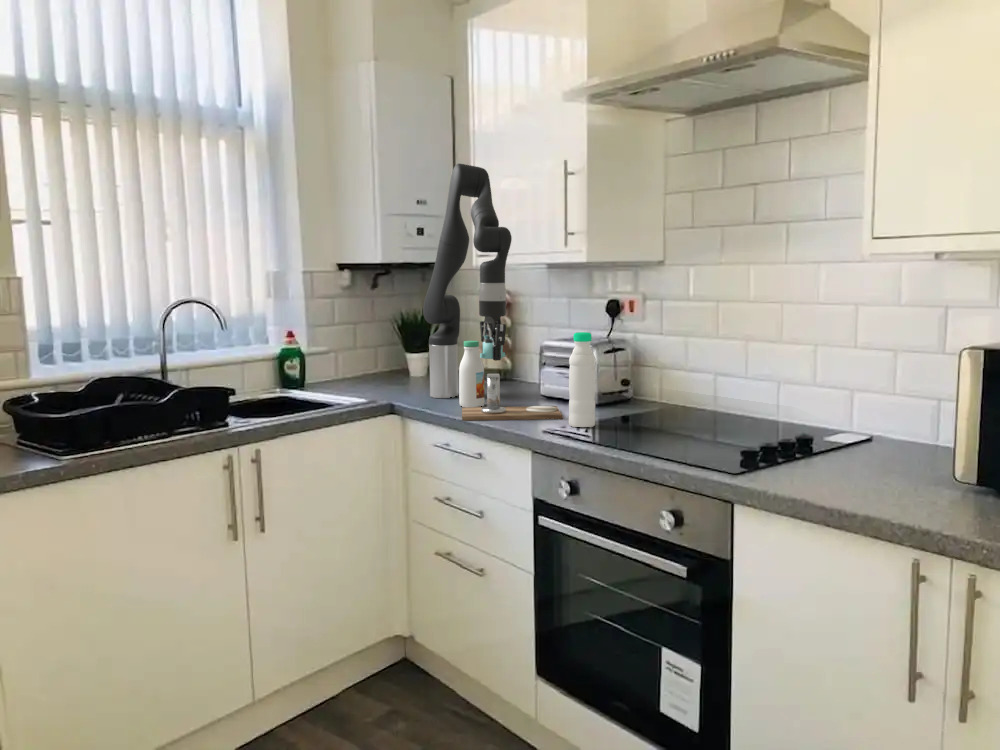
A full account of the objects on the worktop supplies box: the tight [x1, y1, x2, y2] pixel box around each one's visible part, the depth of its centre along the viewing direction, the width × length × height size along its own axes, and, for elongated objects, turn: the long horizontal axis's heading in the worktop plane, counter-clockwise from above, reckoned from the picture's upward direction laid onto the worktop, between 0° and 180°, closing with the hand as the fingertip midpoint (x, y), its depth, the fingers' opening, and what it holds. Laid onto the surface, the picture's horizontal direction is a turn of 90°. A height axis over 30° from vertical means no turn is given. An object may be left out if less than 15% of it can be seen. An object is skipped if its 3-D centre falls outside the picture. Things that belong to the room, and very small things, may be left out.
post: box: [481, 373, 506, 414], centre depth 226 cm, size 7×7×11 cm
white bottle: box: [568, 331, 597, 428], centre depth 210 cm, size 7×7×25 cm
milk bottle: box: [458, 340, 485, 408], centre depth 242 cm, size 8×8×20 cm
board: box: [461, 405, 563, 422], centre depth 228 cm, size 14×28×2 cm, turn 93°
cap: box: [479, 339, 506, 360], centre depth 224 cm, size 7×6×5 cm
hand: (492, 358), depth 225 cm, fingers closed on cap, 5 cm apart
